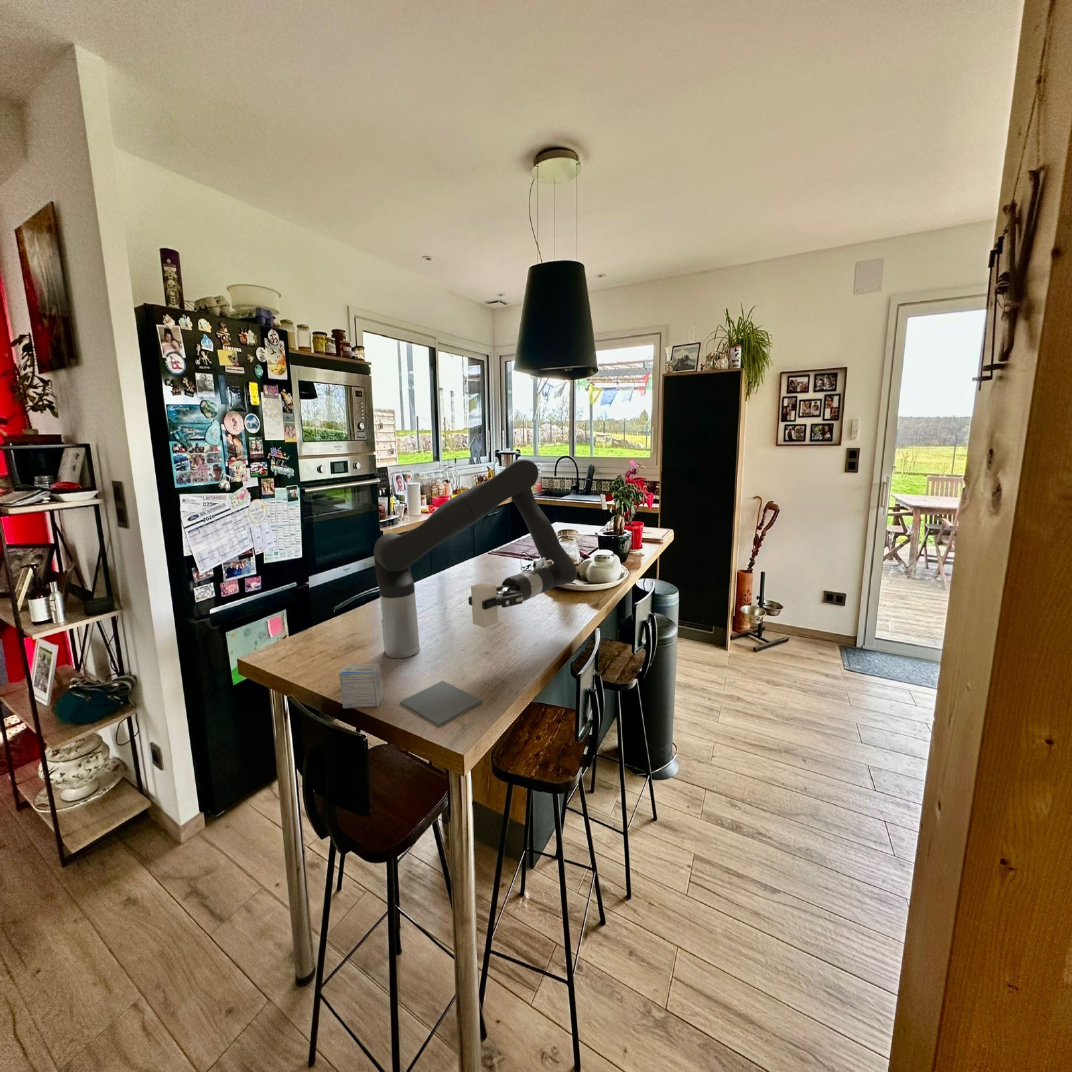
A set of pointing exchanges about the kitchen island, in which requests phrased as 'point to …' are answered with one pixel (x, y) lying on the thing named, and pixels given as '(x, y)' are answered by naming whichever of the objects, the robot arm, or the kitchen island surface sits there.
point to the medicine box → (361, 685)
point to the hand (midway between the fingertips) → (476, 603)
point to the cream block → (479, 595)
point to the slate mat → (441, 703)
